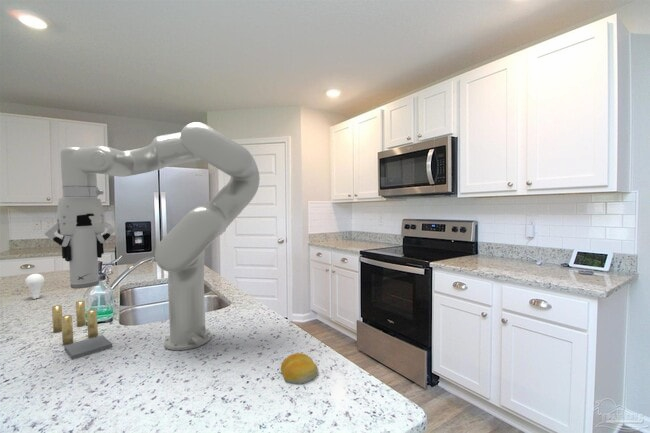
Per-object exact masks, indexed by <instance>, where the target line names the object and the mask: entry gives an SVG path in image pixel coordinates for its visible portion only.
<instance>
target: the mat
mask: <svg viewBox="0 0 650 433" xmlns="http://www.w3.org/2000/svg"><path fill="white" fill-rule="evenodd" d="M63 346H64V351H65V352H66V353H67V356H69V357H70V359H71V360H74V359H78V358H82V357H84V356H89V355H91V354H92V355H93V354H95V353H98V352H101V351H104V350H107V349H111V348H113V343H112V342H111V341H110V340H109V339H108V338H107V337H106V336H105V335H104V334H103V335H102V334H101V335H98V336H97V337H94V338H88V339H84V340H81V341H78V342H73V343H72V344H69V345H63Z"/></svg>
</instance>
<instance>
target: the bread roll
mask: <svg viewBox="0 0 650 433" xmlns="http://www.w3.org/2000/svg"><path fill="white" fill-rule="evenodd" d="M280 372H281V374H282V375H283V380H284V381H285V382H287V383H290V384H306V383H308V382H311V381H312V380H313V379H314V378H315V377H316V376H317V374H318V366H317V364H316V363H315V362H314V361H313V359H312V357H310V356H309V355H308V354H306V353H301V352H298V353H297V352H296V353H292V354H290V355H288V356H287V357H286V358H284V359H283V361H282V363H281V365H280Z"/></svg>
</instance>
